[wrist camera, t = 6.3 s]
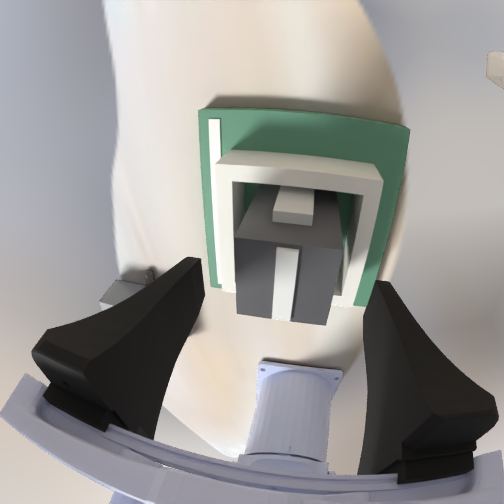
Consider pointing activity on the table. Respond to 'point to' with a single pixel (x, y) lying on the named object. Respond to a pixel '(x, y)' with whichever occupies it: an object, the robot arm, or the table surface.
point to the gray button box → (123, 291)
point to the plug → (288, 254)
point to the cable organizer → (496, 68)
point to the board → (302, 182)
